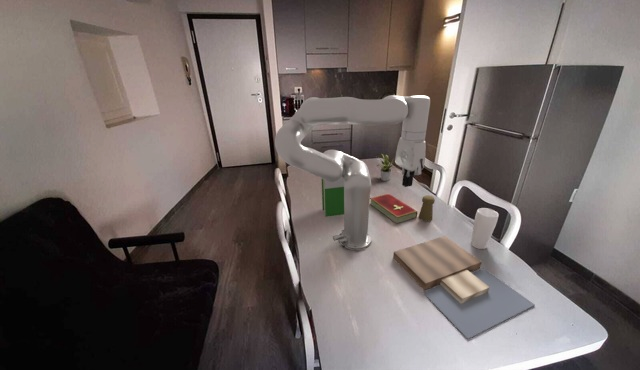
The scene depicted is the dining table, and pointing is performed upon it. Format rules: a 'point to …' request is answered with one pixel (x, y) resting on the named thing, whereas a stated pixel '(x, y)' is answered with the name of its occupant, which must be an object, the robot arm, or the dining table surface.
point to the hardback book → (333, 197)
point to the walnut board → (435, 261)
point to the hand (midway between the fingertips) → (407, 185)
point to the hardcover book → (393, 208)
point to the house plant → (385, 169)
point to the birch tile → (464, 286)
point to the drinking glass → (483, 227)
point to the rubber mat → (480, 305)
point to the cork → (427, 208)
